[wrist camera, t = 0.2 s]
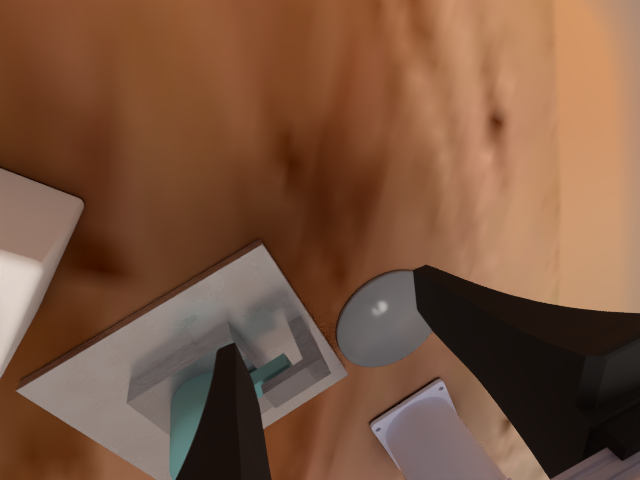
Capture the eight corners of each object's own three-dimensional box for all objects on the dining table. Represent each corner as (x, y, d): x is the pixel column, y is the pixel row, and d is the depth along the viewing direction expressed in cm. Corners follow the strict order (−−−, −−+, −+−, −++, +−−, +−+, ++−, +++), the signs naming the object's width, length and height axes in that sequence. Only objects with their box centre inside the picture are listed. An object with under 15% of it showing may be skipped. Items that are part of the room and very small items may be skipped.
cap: (303, 376, 25) (322, 425, 22) (200, 440, 25) (204, 501, 21) (268, 331, 23) (284, 379, 19) (152, 402, 22) (148, 465, 19)
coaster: (448, 324, 32) (451, 327, 32) (360, 380, 31) (362, 384, 31) (421, 248, 27) (424, 250, 27) (317, 312, 27) (319, 316, 26)
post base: (344, 367, 30) (372, 418, 26) (170, 477, 29) (169, 550, 25) (259, 238, 23) (279, 280, 18) (20, 380, 21) (-18, 460, 17)
